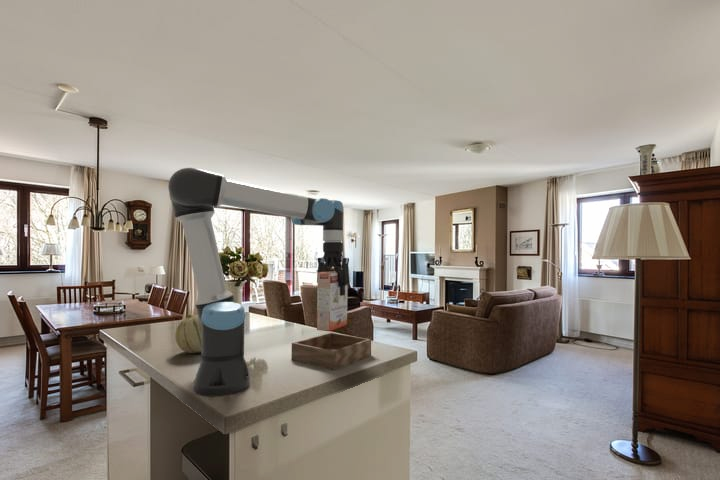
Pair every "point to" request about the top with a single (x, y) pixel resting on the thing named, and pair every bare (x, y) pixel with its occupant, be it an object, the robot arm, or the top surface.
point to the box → (331, 350)
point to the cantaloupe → (189, 334)
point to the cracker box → (330, 303)
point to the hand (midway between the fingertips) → (332, 303)
